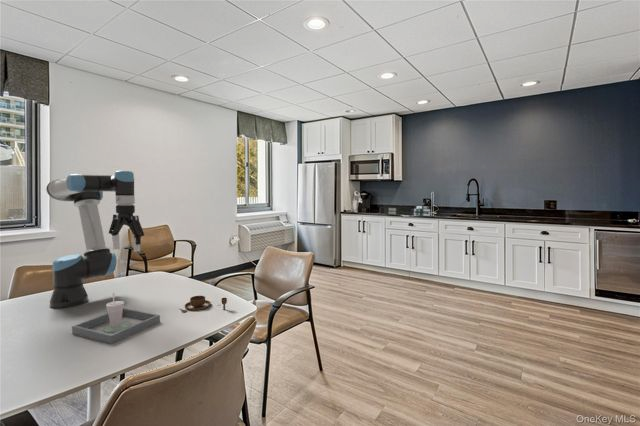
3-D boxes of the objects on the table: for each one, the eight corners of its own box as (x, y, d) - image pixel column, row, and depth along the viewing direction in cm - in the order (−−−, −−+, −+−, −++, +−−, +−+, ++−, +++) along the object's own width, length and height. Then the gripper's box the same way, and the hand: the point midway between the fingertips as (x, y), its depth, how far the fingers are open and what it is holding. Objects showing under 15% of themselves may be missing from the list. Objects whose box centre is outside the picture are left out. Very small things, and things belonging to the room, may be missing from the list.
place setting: (209, 300, 171) (209, 289, 170) (229, 310, 157) (229, 298, 156) (175, 308, 158) (174, 296, 158) (194, 320, 144) (193, 307, 144)
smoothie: (112, 323, 138) (111, 290, 137) (127, 322, 139) (126, 290, 138) (103, 329, 132) (102, 295, 131) (120, 329, 133) (119, 295, 132)
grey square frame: (72, 333, 129) (71, 326, 129) (123, 314, 149) (123, 307, 149) (111, 343, 121) (110, 335, 121) (160, 321, 141) (159, 314, 141)
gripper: (98, 204, 152) (100, 249, 154) (137, 206, 143) (138, 254, 144) (114, 203, 159) (115, 246, 161) (152, 205, 150) (153, 251, 151)
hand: (126, 250), depth 153 cm, fingers open, 13 cm apart
